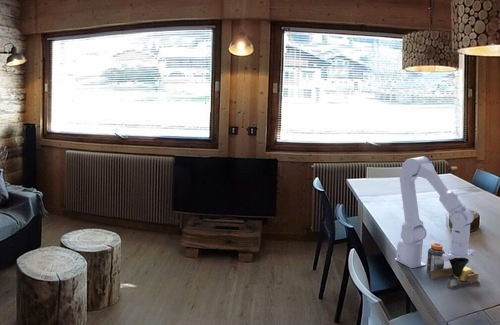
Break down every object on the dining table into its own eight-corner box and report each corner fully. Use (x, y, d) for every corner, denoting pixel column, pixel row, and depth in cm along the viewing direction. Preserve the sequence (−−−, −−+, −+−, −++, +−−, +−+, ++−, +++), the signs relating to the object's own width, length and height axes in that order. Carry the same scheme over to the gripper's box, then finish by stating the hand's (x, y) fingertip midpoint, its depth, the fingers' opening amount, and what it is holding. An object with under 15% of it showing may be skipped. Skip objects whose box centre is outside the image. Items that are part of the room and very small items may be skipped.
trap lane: (430, 278, 145) (431, 271, 145) (459, 272, 151) (459, 265, 150) (451, 289, 137) (451, 281, 136) (480, 282, 142) (481, 274, 142)
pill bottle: (427, 267, 155) (429, 240, 153) (443, 270, 152) (446, 243, 150) (425, 272, 150) (427, 245, 148) (442, 276, 147) (444, 248, 145)
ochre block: (454, 276, 147) (455, 266, 146) (461, 274, 148) (462, 265, 148) (463, 281, 143) (464, 270, 143) (470, 279, 145) (472, 269, 144)
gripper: (454, 247, 136) (451, 283, 138) (483, 242, 141) (480, 277, 143) (438, 241, 142) (435, 275, 144) (466, 236, 148) (463, 269, 150)
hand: (456, 275), depth 144 cm, fingers closed
